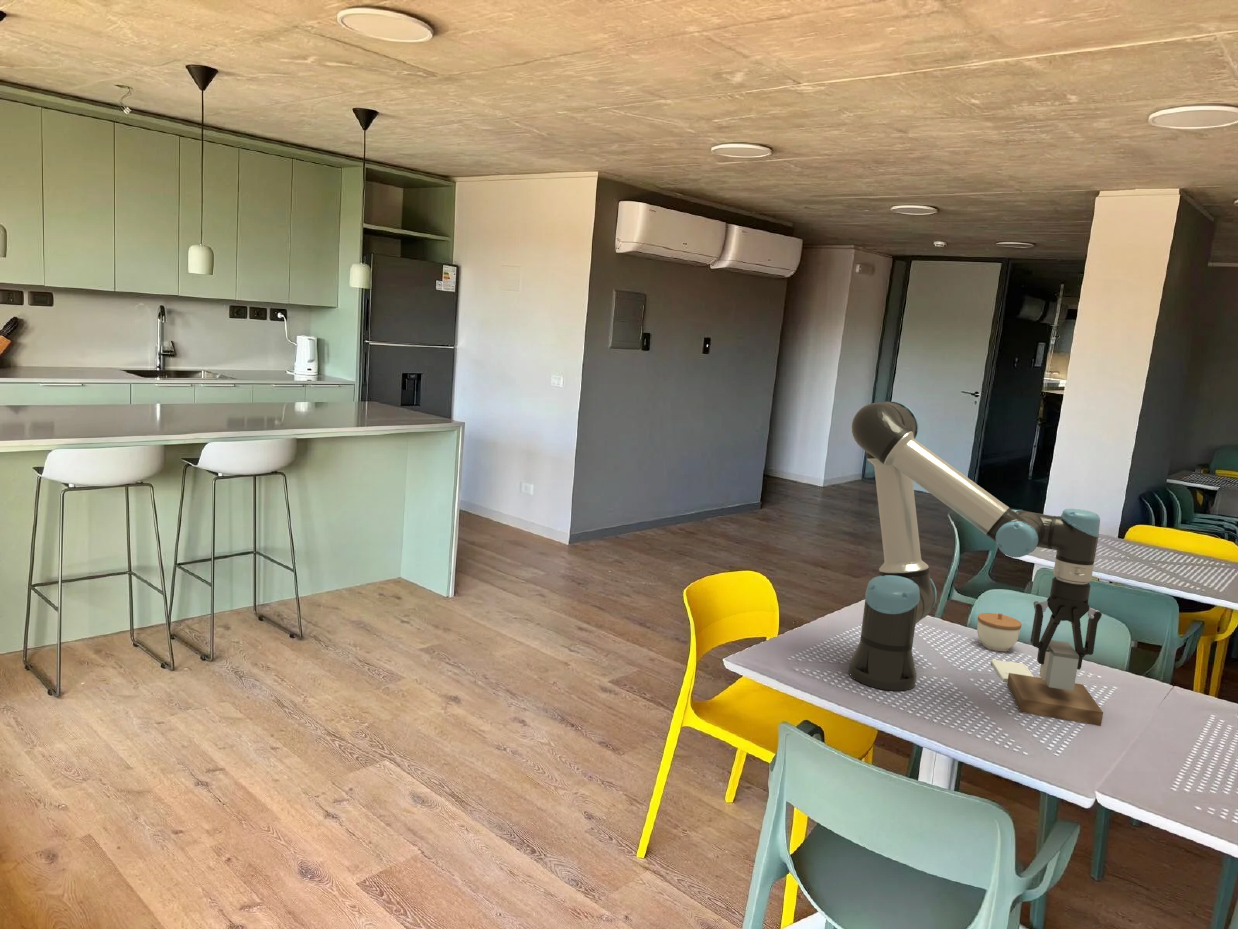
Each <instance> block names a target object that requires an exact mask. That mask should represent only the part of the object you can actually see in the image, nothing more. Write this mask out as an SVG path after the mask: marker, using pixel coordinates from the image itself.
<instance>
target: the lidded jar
mask: <svg viewBox="0 0 1238 929" xmlns="http://www.w3.org/2000/svg"><path fill="white" fill-rule="evenodd" d="M1021 628H1022V622H1021V621H1020V620H1019V619H1017V618H1014V617H1012V616H1008V615H1005V614H1004V613H1002V612H998V613H991V612H984V613H983V612H982V613H980V614H978V615H977V626H976V630H977V637H978V638H979V640H980V642H981V643H982V644H983V647H985V648H986V649H989V650H992V651H996V652H1008V650H1009V649H1011V648H1013V647H1014V645H1016V643H1018V639H1019V638H1020V633H1021Z"/></svg>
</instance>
